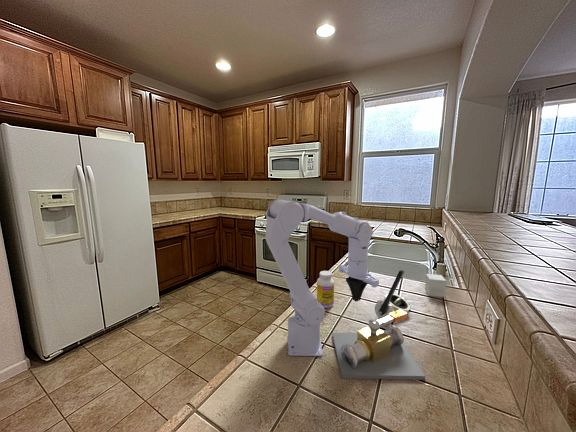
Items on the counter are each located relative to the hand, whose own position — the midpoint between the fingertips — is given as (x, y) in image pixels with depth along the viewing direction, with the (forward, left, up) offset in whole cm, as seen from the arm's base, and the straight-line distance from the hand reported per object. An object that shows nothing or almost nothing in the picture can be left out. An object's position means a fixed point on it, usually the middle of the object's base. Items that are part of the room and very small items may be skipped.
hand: (356, 299), depth 75 cm
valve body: (+2, -11, -10) cm, 15 cm away
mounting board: (+2, -11, -10) cm, 15 cm away
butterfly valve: (+16, +10, -11) cm, 22 cm away
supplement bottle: (-8, +16, -11) cm, 21 cm away
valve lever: (+7, -8, -2) cm, 11 cm away
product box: (+39, +25, -11) cm, 48 cm away
